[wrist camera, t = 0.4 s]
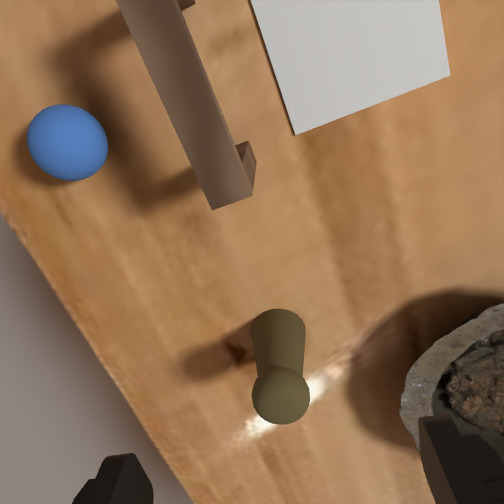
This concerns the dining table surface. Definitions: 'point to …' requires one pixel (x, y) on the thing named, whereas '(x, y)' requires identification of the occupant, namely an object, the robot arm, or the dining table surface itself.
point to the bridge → (190, 99)
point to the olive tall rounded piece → (279, 367)
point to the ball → (67, 142)
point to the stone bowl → (462, 380)
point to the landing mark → (349, 53)
